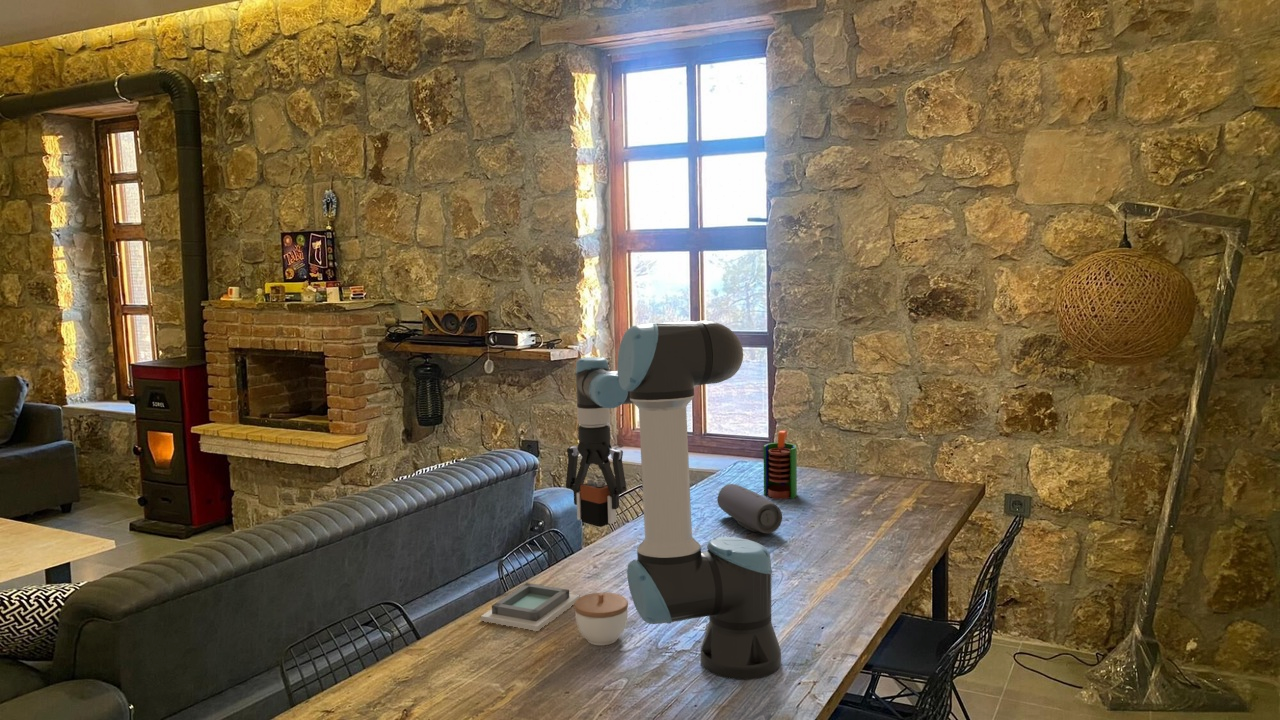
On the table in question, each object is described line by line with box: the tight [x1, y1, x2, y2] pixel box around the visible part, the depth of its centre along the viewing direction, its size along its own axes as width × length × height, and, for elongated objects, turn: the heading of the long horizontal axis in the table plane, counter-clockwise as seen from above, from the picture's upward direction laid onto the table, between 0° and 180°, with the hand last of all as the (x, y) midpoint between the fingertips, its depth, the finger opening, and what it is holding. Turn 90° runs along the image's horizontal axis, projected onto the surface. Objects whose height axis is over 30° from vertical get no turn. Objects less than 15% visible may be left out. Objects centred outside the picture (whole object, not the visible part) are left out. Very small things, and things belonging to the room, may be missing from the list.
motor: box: [763, 430, 798, 500], centre depth 285 cm, size 10×9×20 cm
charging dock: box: [480, 582, 580, 632], centre depth 199 cm, size 18×14×3 cm
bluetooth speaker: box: [717, 483, 783, 534], centre depth 255 cm, size 23×9×10 cm, turn 22°
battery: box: [580, 479, 610, 528], centre depth 214 cm, size 4×7×10 cm, turn 46°
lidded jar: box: [573, 592, 629, 647], centre depth 184 cm, size 11×11×9 cm
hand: (596, 520), depth 214 cm, fingers closed on battery, 7 cm apart
